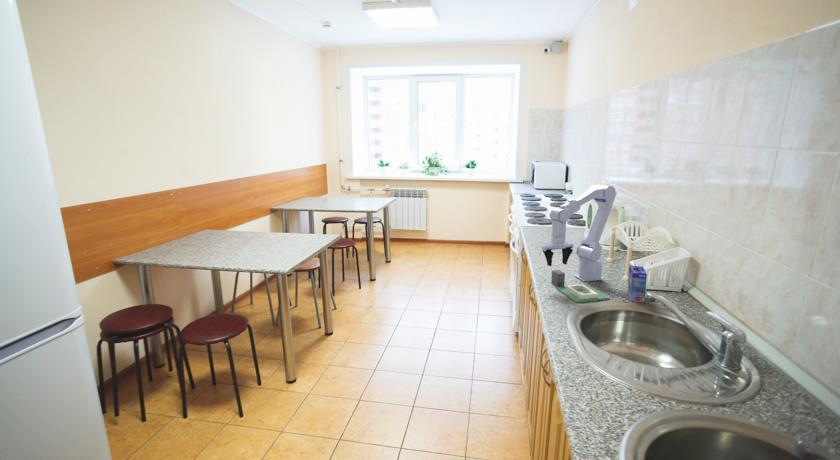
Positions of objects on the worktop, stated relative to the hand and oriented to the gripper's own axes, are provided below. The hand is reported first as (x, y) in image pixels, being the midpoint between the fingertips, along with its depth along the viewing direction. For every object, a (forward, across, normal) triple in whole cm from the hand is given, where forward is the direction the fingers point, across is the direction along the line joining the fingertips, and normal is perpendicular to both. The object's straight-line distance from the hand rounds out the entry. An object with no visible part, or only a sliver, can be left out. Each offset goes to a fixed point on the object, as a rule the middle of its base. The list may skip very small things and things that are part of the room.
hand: (556, 264), depth 180 cm
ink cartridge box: (+10, -22, +23) cm, 33 cm away
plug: (+9, -1, 0) cm, 9 cm away
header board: (+9, -4, +14) cm, 17 cm away
